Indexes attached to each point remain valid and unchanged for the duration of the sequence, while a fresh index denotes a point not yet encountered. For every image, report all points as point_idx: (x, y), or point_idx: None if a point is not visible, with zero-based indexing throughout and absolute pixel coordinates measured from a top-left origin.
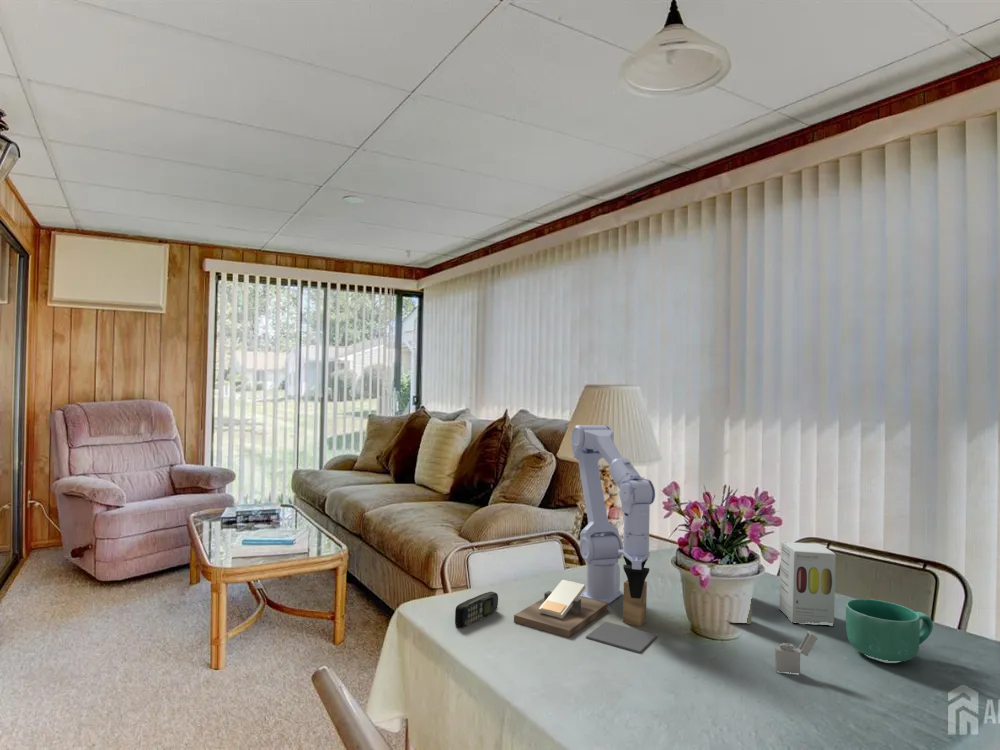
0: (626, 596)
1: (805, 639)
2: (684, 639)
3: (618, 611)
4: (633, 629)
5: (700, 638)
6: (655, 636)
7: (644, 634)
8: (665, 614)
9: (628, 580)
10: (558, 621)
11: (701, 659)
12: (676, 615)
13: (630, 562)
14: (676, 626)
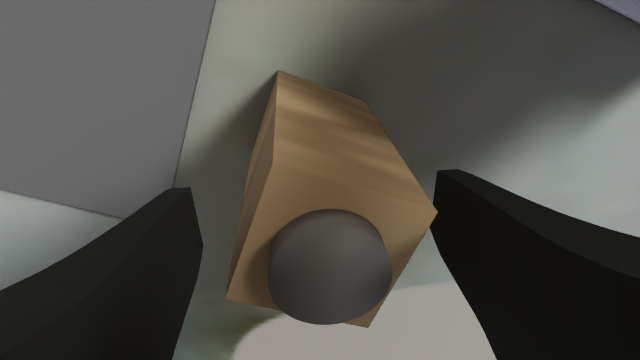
0: (267, 139)
1: None
2: (189, 304)
3: (430, 37)
4: (173, 130)
5: (223, 342)
6: None
7: (137, 180)
8: (426, 244)
9: (40, 275)
10: None
11: None
12: (422, 278)
13: (583, 323)
14: None
